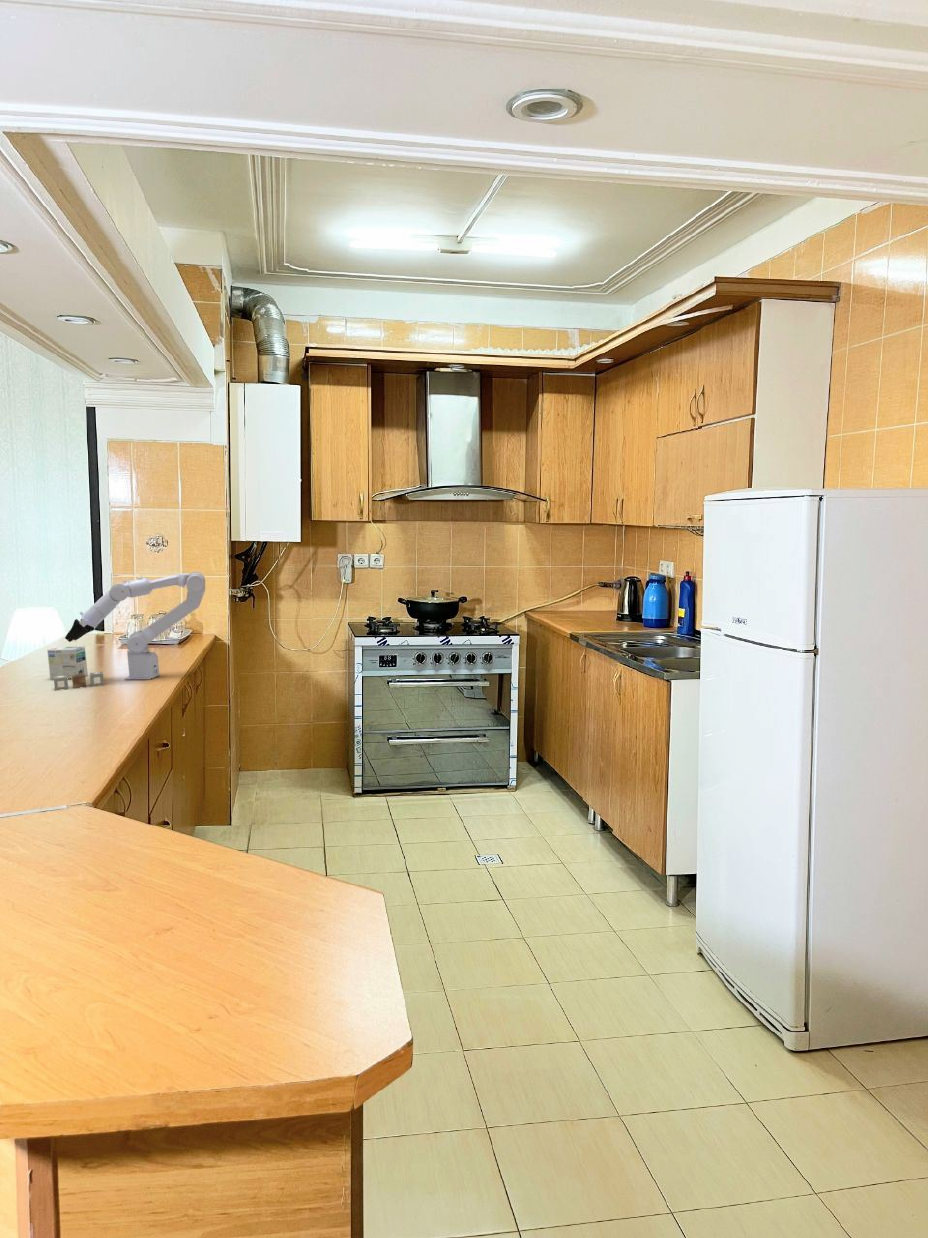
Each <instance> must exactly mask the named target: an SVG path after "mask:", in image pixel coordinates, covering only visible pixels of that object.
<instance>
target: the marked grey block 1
mask: <svg viewBox="0 0 928 1238" xmlns="http://www.w3.org/2000/svg"><path fill="white" fill-rule="evenodd" d="M68 680H69V679H67V675H65V676H55V677H54V679H53V684H54V691H61V690H60V689H64V690H68V689H69V681H68Z"/></svg>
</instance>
